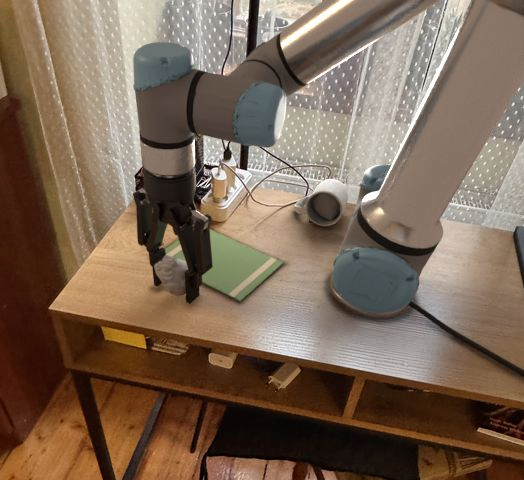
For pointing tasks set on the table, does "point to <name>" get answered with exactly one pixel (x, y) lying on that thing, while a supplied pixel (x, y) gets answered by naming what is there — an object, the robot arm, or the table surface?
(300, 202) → the ceramic mug
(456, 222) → the table surface
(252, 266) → the tea towel
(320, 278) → the table surface
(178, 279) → the grey lumpy lump
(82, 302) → the table surface
